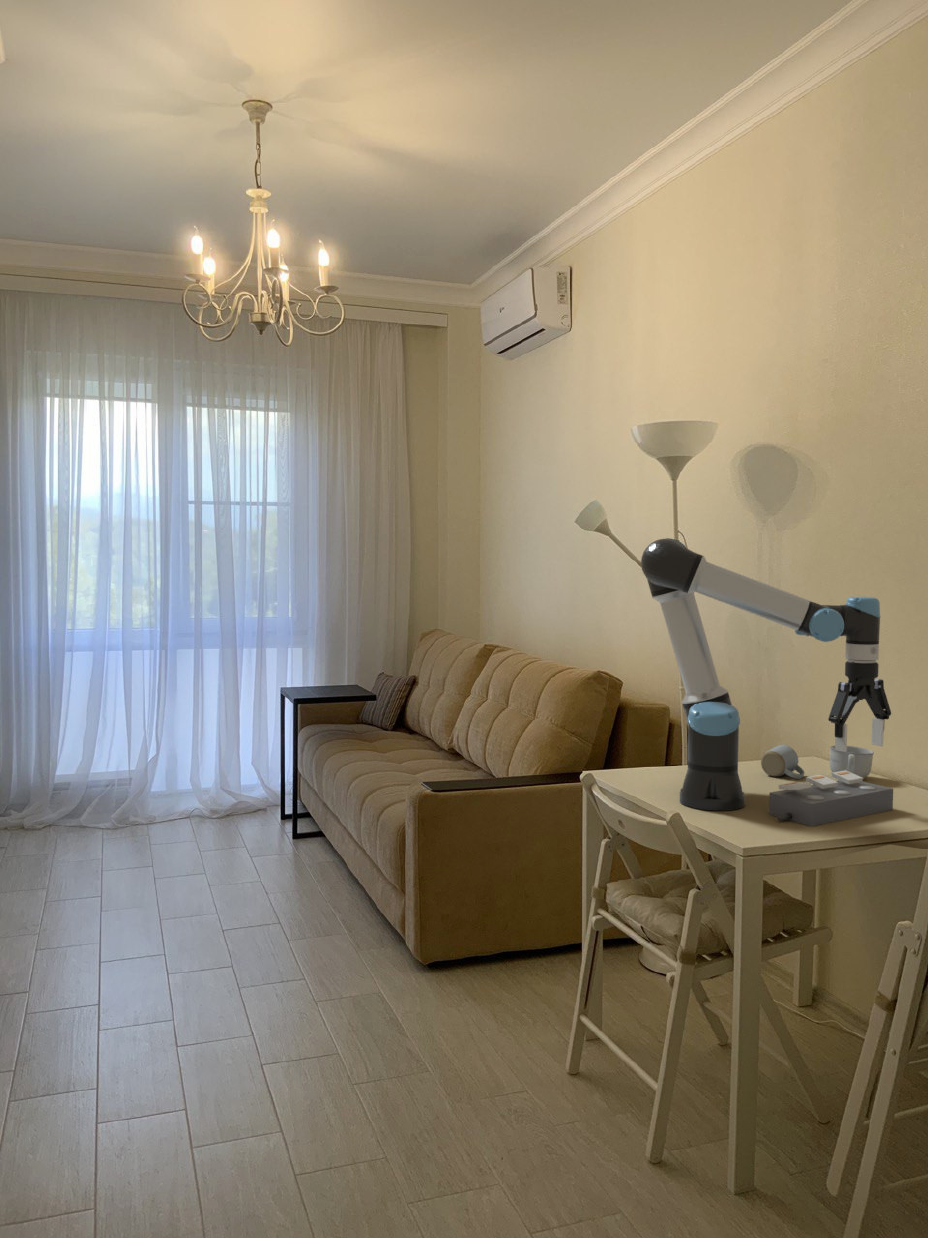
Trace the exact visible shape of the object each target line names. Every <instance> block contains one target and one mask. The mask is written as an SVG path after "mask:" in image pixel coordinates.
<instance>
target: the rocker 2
mask: <svg viewBox="0 0 928 1238" xmlns="http://www.w3.org/2000/svg"><path fill="white" fill-rule="evenodd" d="M805 781H806V783H811V785H814V786H817V787H820V788H822V789H825V788H831V787H836V786H837V784H838V782H836V781H837V780H833V779H831V778H829V777H827V776H825V775H822V774H816V775H810V776H806V777H805Z"/></svg>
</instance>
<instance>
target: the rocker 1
mask: <svg viewBox="0 0 928 1238" xmlns="http://www.w3.org/2000/svg"><path fill="white" fill-rule="evenodd" d="M811 785H812V784H811V783H809V782H796V781H795V782H788V783H787V782H786V783H781V784H778V789H779V790H787V791H791V790H799V789H805V788H811Z"/></svg>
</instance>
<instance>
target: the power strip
mask: <svg viewBox="0 0 928 1238" xmlns="http://www.w3.org/2000/svg"><path fill="white" fill-rule="evenodd" d="M835 781H836V782H838V784H837V786H836V787H831V788H825V789H822V788H820V787H817V786H814V785H813V784H811V788H805V789H799V790H791V791H787V790H783V789H781V790H778V791H772V792H769V797H768V798H769V800H768V801H769V802H768V803H769V804H768V805H769V806H768V814H769V815H770V816H774V817H777V820H778V821H787V820H788V821H791V822H795V823H798V824H802V825H805V826H808V827H815V826H820V825H826V824H831V823H836V822H839V821H845V820H850V819H855V818H859V817H865V816H869V815H873V814H878V813H883V812H888V811H892V810H893V807H894V788H892V787H888V786H883V785H879V784H876V783H871V782H866V781H864V780H863V781H862V782H859V783H853V784H847V783H844V782H840V781H839V780H835Z"/></svg>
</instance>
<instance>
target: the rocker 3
mask: <svg viewBox="0 0 928 1238" xmlns="http://www.w3.org/2000/svg"><path fill="white" fill-rule="evenodd" d="M830 777H832V778H834V779H836V780H837V781H840V782H844V783H847V784H853V783H859V782H862V781H863V782H864V779H863V778H862V777H860V776H858V775H855V774H853V773H851V772H848V771H846V770H845V771H839V772H831V776H830Z"/></svg>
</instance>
